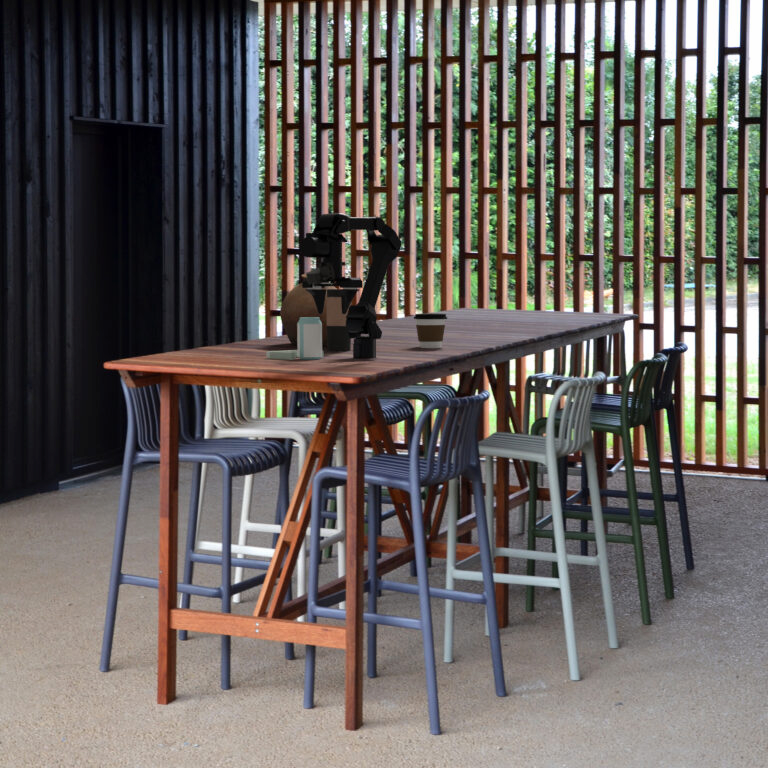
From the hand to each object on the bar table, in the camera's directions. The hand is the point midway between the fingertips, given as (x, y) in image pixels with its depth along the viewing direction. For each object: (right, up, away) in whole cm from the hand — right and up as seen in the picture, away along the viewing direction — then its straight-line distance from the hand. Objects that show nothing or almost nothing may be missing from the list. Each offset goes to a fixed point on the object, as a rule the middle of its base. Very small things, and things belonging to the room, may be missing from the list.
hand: (332, 314), depth 357 cm
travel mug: (+1, -10, +39) cm, 40 cm away
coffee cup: (+30, -9, +52) cm, 60 cm away
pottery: (-7, -9, +56) cm, 57 cm away
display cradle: (-11, -12, +11) cm, 20 cm away
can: (-7, -13, +8) cm, 16 cm away
